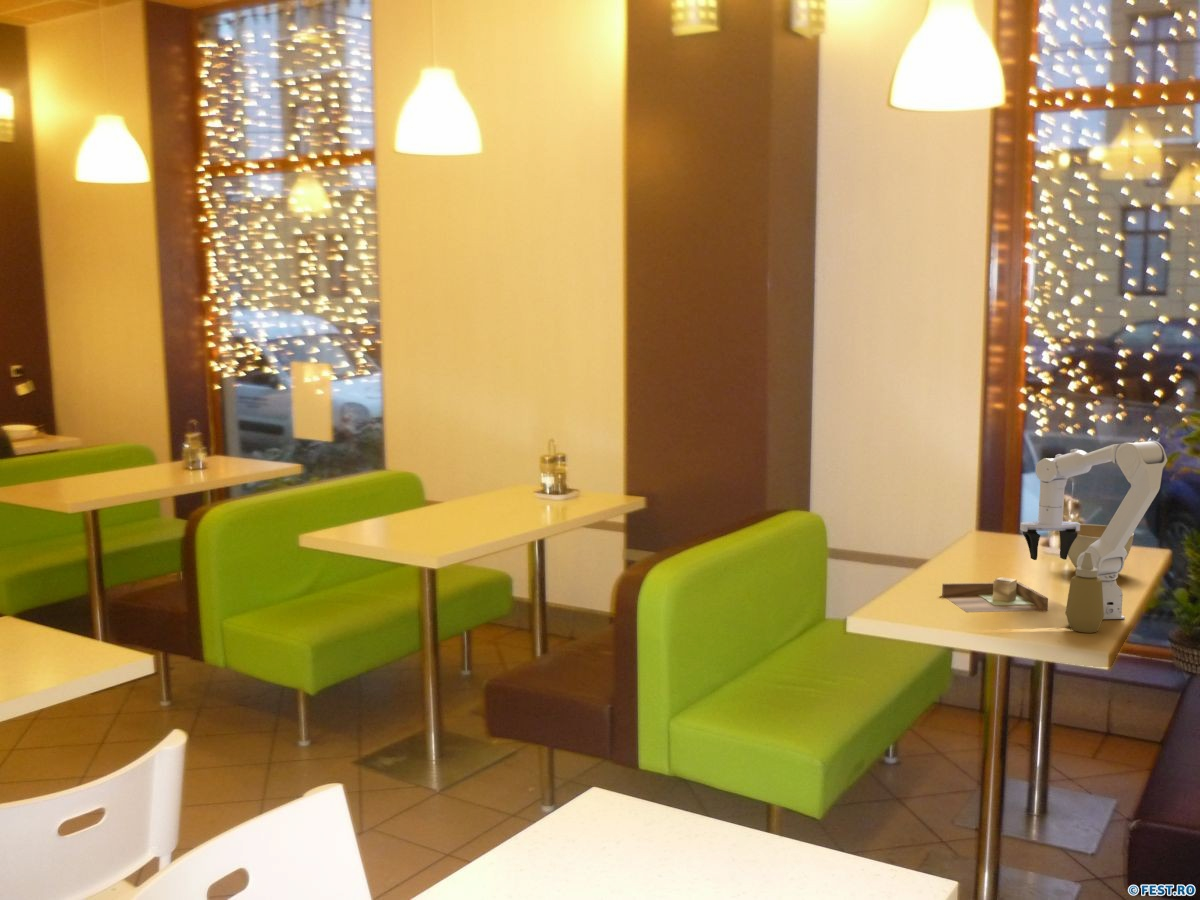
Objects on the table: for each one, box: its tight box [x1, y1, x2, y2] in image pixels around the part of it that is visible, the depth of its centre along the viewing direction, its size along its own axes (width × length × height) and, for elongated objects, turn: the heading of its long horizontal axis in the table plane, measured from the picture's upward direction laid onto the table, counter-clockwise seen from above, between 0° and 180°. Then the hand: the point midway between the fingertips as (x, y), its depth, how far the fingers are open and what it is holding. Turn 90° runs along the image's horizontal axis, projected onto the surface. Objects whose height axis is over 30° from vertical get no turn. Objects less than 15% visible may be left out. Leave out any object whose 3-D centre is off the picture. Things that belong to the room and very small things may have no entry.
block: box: [992, 576, 1018, 603], centre depth 281 cm, size 4×4×5 cm
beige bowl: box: [1067, 524, 1135, 569], centre depth 312 cm, size 18×18×12 cm
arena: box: [941, 581, 1049, 613], centre depth 279 cm, size 16×20×4 cm
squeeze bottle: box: [1065, 552, 1104, 633], centre depth 257 cm, size 8×8×18 cm
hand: (1048, 558), depth 284 cm, fingers open, 7 cm apart
